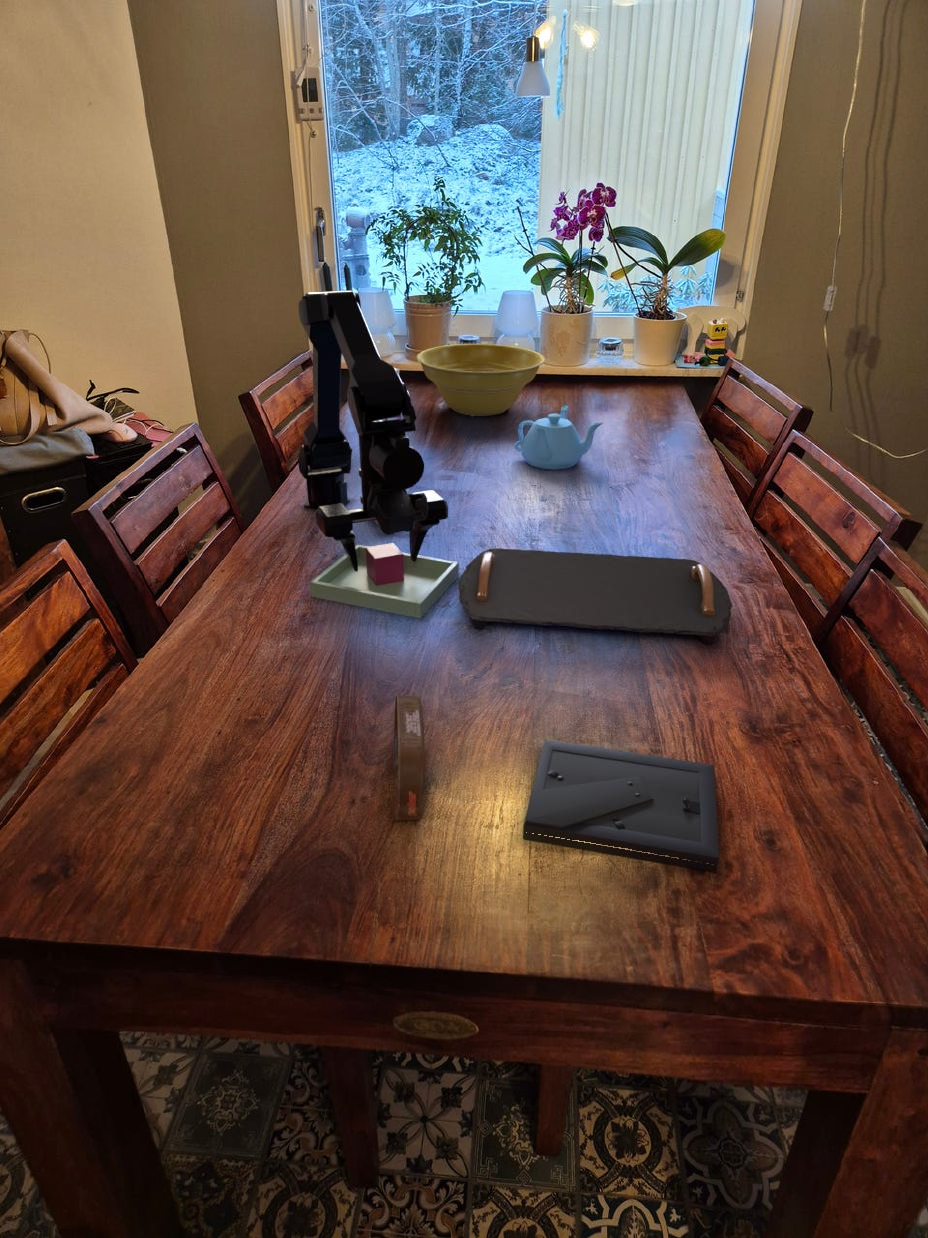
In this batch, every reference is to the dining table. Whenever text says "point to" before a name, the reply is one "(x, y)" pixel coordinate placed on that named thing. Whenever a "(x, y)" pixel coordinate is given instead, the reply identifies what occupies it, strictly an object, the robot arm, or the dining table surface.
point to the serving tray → (595, 592)
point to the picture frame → (625, 805)
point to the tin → (408, 758)
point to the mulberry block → (385, 564)
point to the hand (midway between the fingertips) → (384, 565)
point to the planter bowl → (480, 375)
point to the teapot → (553, 442)
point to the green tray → (403, 597)
